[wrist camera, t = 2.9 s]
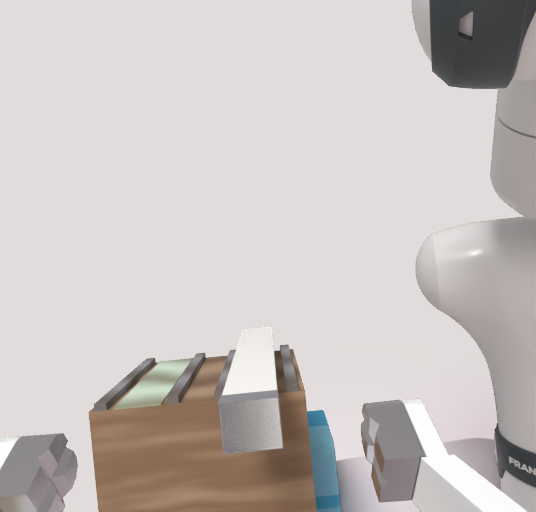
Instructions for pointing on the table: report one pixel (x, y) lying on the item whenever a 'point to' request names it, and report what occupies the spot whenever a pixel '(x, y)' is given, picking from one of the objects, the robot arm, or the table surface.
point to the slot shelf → (196, 443)
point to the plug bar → (251, 396)
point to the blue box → (323, 463)
